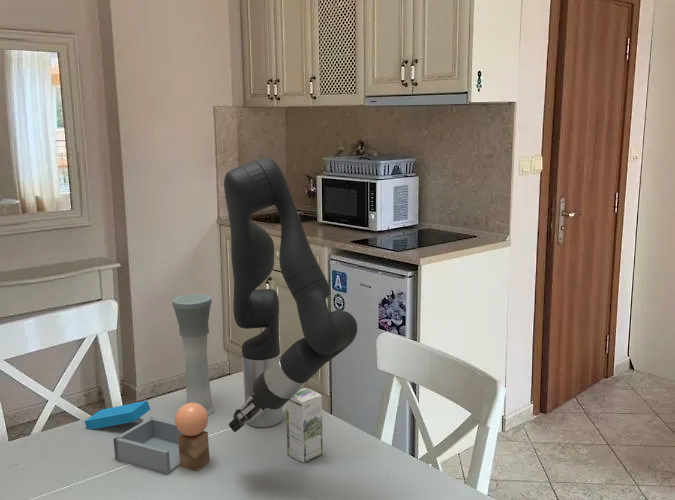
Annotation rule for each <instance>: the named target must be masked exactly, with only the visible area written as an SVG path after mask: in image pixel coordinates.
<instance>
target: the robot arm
mask: <svg viewBox="0 0 675 500" xmlns="http://www.w3.org/2000/svg"><path fill="white" fill-rule="evenodd" d="M223 186H224V187H223V188H224V196H225V202H226V208H227V214H228V219H229V227H230V254H231V265H232V266H231V267H232V273H233V274H232V275H233V304H232V305H233V309H232V311H233V317H234V322H235V324H236V325H237V326H238V328H241V329H249V330H250V329H263V328H264V330H263V331H261V332H260V333H259V334H257V335H254V336H253V337H251V338H249V339H247V340H245V341H244V342H243V343H242V345H241V356H242V357H241V358H242V374H243V390H244V391H243V394H244V403H243V404H242V405H241V407H240V408H239V409H236V410H235V412H234V414H233V417H232V418H233V419H232V420H231V421H230V422H229V423H228V426H229V428H230V429H231V431H232V432H234V433H236V432H238V431H239V430H240V429H242V427H243V426H245V425H246V424H248V425H249V426H251V427H255V428H269V427H270V428H271V427H274V426H276V425H277V424H280V423H281V422H282V421H283V419H284V409H283V406H285V405H286V402H287V401H289V400H290V399H291V398H292V397H293V396H294V395H295V394H296V393H297V392H298V391H299V390H301V389H303V388H304V386H305V385H306V384H307V382H308V381H309V380H310V379H311V378H312V377H314V375H316V374H317V372H319V370H320V369H321V368H322V367H324V365H326V364H327V363H328V362H330V361H332V360H333V359H334V358H335V357H336V356H337V355H339V354H341V353H342V352H343V351H344V350H346V349H347V348H348V347H350V345H351V344H352V343H353V342H354V340H355V338H356V337H357V334H358V323H357V320H356V318H355V317H354V316H353V315H352V314H351V313H350V312H348V311H345V310H332V311H329V308H328V305H327V304H328V303H327V298H329V297H330V295H331V293H332V292H331V287H330V284H329V281H328V280H327V279H326V276H325V274H324V271H323V270H322V268H321V266H320V264H319V263H318V261H317V259H316V257H315V254H314V252H313V250H312V248H311V246H310V243H309V241H308V240H309V239H307V235H306V232H305V229H304V226H303V223H302V221H301V218H300V215H299V212H298V209H297V206H296V203H295V201H294V198H293V195H292V192H291V190H290V188H289V184H288V182H287V179H286V177H285V175H284V173H283V171H282V169H281V168H280V167H279V165H278V163H277V162H276V161H275V160H274V159H272V158H270V157H263V158H259V159H256V160H253V161H250V162H248V163H246V164H242V165H240V166H237V167H234V168H233V169H230V170H229V171H227V172H226V173H225V176H224V180H223ZM272 206H275V209H276V210H277V213H278V216H279V219H280V227H281V228H280V229H281V231H280V232H281V233H280V245H279V261H278V262H279V268H280V271H281V274H282V278H283V279H284V282H285V283H286V286H287V288H288V290H289V291H290V294H291V295H292V298H293V299H294V301H295V303H296V308H297V313H298V316H299V317H298V318H299V322H300V327H301V330H302V333H303V336H304V337H302V338H299V340H297V341H295V342H294V343H293V344H292V345H291V346H290V347H288V348H287V350H286V351H285V352H284V353H282V354H281V345H280V300H279V295H278V293H277V290H275V289H274V288H265V289H263V288H262V289H260V288H259V289H257V288H258V287H260V286H261V285H262V284H263V283H264V282H265V281H266V280H267V279H268V278H269V276H270V275H271V274H272V271H273V269H274V266H275V243H274V241H273V238H272V236H271V235H270V234H269V233H268V231H266V229H264V228H262V227H261V226H260V225H259V224H257V223H256V222H254V221H253V220H252V219H251V217H252V216H253V214H254V213H256V212H259V211H262V210H265V209H268V208H270V207H272Z"/></svg>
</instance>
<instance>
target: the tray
mask: <svg viewBox="0 0 675 500" xmlns="http://www.w3.org/2000/svg"><path fill="white" fill-rule="evenodd" d="M144 420H145V421H144V422H142V423H140V424H138V423H137V425H135V426H134V427H133V426H132V427H131V428H130V429H128V430H126V431H125V432H123V433H121V434H119V435H117V436H115V437H114V438H113V439H112V441H113V448H114V459H115V461H120V462H123V463H126V464H130V465H133V466H136V467H140V468H143V469H147V470H150V471H154V472H156V473H157V472H158V473H161V474H164V475H169V474H171V473H173V471H175V470H176V469H177V468H179V467H180V457H179V445H178V436H180V435H181V434H182V433H181V432H180V431H179V430H178V429H177V427H176V424H175V421H170V420H165V419H162V418H161V419H160V418H157V417H153V416H150V417H149V418H148V419H144Z"/></svg>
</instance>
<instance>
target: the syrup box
mask: <svg viewBox="0 0 675 500" xmlns="http://www.w3.org/2000/svg"><path fill="white" fill-rule="evenodd" d="M285 412H286V415H285V416H286V448H287V449H286V451H287V452H286V453H287V455H288V456H289V457H291V458H293V459H295V460H297V461H299V462H302V463H303V464H306V463H307V462H309V461H311V460H314V459H315V458H317V457H319V456H321V455H323V454H324V453H323V446H324V445H323V397H322V395H321V394H320V393H318V391H315V390H313V389H311V388H307V387H302V388H301V389H300V390H299V391H298V392H297V393H296V394H295V395H294V396H293V397H292V398H291V399H290V400H289V401H287V402H286V403H285Z"/></svg>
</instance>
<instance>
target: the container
mask: <svg viewBox="0 0 675 500" xmlns="http://www.w3.org/2000/svg"><path fill="white" fill-rule="evenodd" d="M212 300H213V299H212V296H211V295H208V294H202V293H194V294H193V293H190V294H183V295H179V296H177V297H175V298H173V299H172V301H171V302H172V307H173V309H174V313H175V316H176V319H177V323H178V326H179V327H178V331H179V336H180V337H181V341H182V346H183V351H184V352H183V353H184V358H185V384H186V385H185V386H186V389H185V390H186V393H185V394H186V404H187V403H198V404H200V405H202V406H203V407H204V408H205V409H206V411H207V413H208V417H209V416H211V415H212V414H214V412H215V408H214V406H213V399H212V390H211V384H210V382H211V381H210V375H209V374H210V373H209V365H208V364H209V363H208V335H209V333H210V329H209V319H210V318H209V317H210V311H211V306H212V304H213V303H212V302H213V301H212Z"/></svg>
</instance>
